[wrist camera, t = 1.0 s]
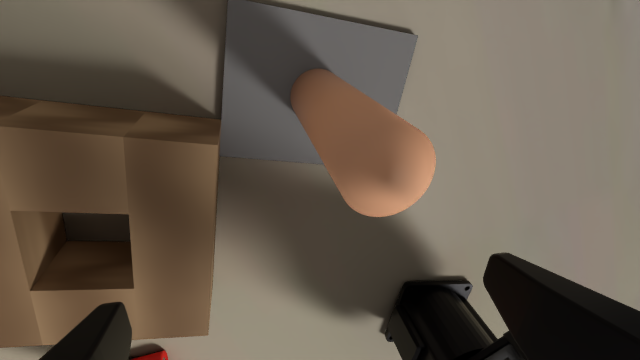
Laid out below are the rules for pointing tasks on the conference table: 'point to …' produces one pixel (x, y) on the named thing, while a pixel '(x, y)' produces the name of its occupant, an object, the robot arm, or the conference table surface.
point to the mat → (298, 74)
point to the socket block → (106, 198)
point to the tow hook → (153, 356)
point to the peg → (363, 144)
